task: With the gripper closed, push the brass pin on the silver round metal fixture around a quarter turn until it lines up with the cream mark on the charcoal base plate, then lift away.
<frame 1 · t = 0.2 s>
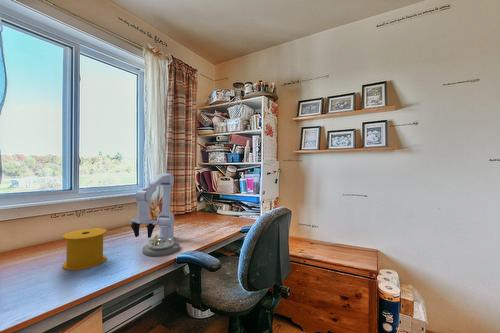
hand: (143, 237, 127), 10 cm above the table, tool pointing down, fingers open, 7 cm apart
spool: (85, 262, 116), on the table
silver round metal fixture: (161, 239, 134), point 6 cm above the table, hinge at 0.0°
base plate: (161, 249, 134), on the table
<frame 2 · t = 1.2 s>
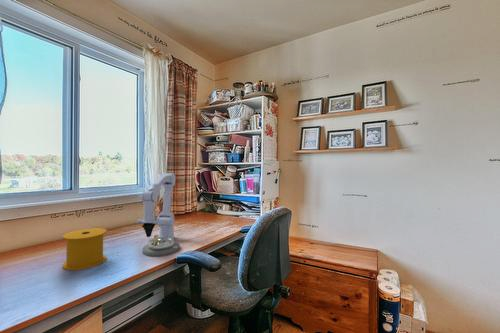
hand: (148, 236, 130), 9 cm above the table, tool pointing down, fingers closed
nothing on the table moved.
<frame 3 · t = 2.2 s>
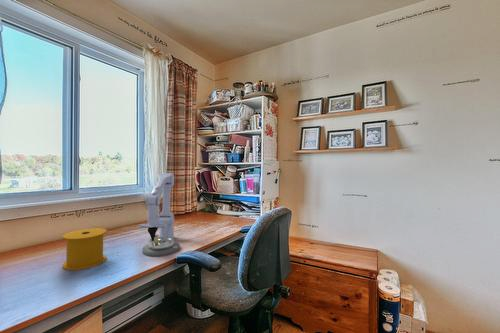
hand: (152, 240, 129), 7 cm above the table, tool pointing down, fingers closed
silver round metal fixture: (161, 239, 134), point 6 cm above the table, hinge at 1.8°, touching gripper
everything else where it was.
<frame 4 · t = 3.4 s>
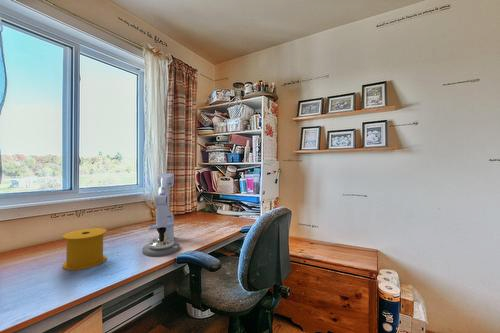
hand: (161, 240, 129), 7 cm above the table, tool pointing down, fingers closed, pressing on silver round metal fixture
silver round metal fixture: (161, 239, 134), point 6 cm above the table, hinge at 46.3°, touching gripper
everything else where it was.
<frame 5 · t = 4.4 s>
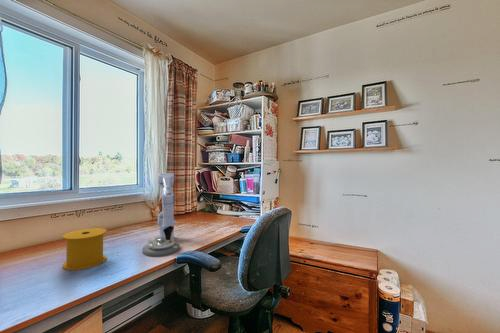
hand: (168, 239, 131), 7 cm above the table, tool pointing down, fingers closed, pressing on silver round metal fixture
silver round metal fixture: (161, 239, 134), point 6 cm above the table, hinge at 85.3°, touching gripper
everything else where it was.
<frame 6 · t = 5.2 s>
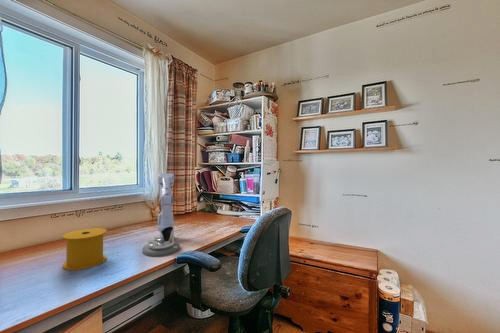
hand: (166, 240, 129), 7 cm above the table, tool pointing down, fingers closed
silver round metal fixture: (161, 239, 134), point 6 cm above the table, hinge at 89.1°
everything else where it was.
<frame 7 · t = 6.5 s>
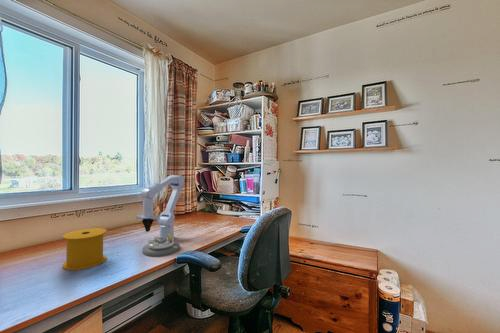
hand: (147, 231, 139), 9 cm above the table, tool pointing down, fingers closed
nothing on the table moved.
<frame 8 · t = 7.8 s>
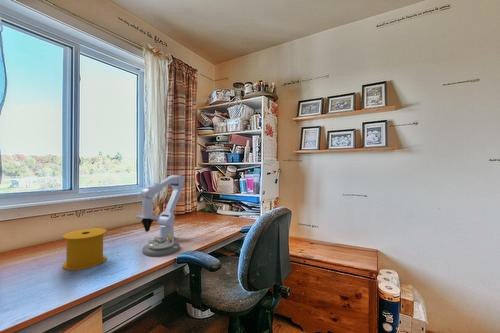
hand: (147, 231, 139), 9 cm above the table, tool pointing down, fingers closed
nothing on the table moved.
at the end: silver round metal fixture at +89° (first picture: +0°) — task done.
